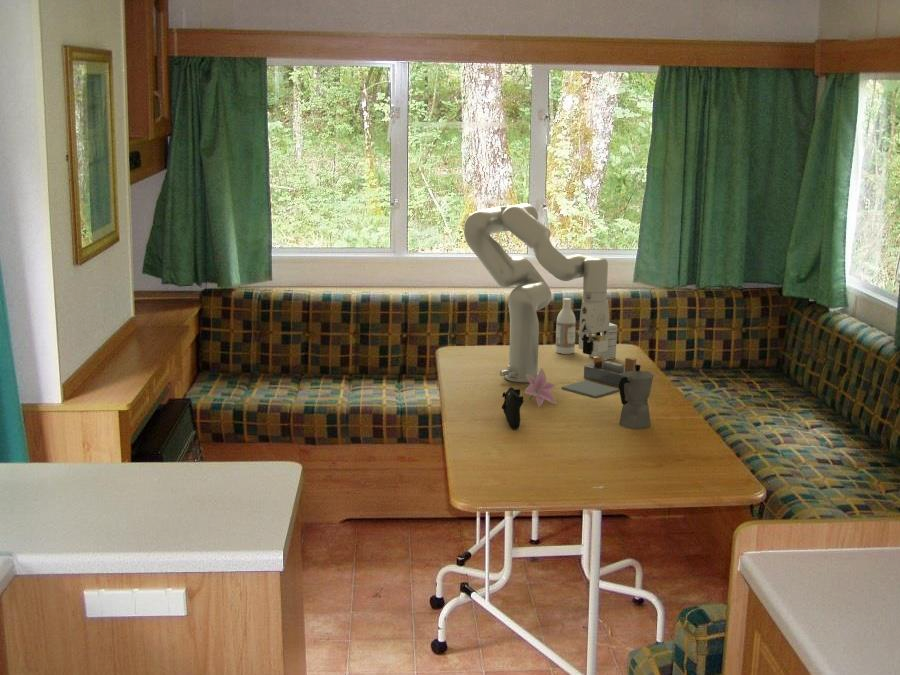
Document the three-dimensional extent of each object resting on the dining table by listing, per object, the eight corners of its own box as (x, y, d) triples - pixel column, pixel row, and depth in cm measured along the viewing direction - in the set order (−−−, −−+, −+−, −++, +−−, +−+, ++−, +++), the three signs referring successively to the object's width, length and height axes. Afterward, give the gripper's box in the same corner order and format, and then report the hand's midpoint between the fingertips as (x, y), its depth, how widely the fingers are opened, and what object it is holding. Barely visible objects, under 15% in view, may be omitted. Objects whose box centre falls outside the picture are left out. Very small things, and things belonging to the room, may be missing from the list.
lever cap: (598, 352, 354) (598, 338, 353) (578, 348, 360) (578, 334, 358) (607, 350, 357) (608, 336, 356) (588, 346, 363) (588, 332, 362)
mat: (595, 397, 353) (595, 396, 353) (561, 388, 362) (561, 386, 362) (619, 390, 361) (619, 389, 361) (585, 382, 371) (585, 380, 370)
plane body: (626, 388, 363) (628, 361, 361) (583, 377, 376) (584, 351, 374) (641, 384, 369) (643, 357, 367) (598, 373, 381) (600, 347, 379)
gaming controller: (498, 416, 333) (498, 383, 331) (518, 415, 333) (519, 383, 331) (503, 430, 319) (504, 397, 317) (524, 430, 320) (525, 396, 317)
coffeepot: (633, 416, 334) (636, 357, 330) (660, 423, 328) (664, 363, 324) (603, 427, 323) (606, 367, 319) (631, 434, 317) (634, 373, 313)
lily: (517, 410, 342) (530, 387, 337) (511, 386, 352) (524, 363, 347) (552, 419, 346) (565, 396, 341) (545, 395, 355) (558, 372, 350)
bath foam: (564, 355, 405) (566, 301, 401) (551, 351, 411) (553, 298, 406) (578, 353, 409) (580, 299, 404) (565, 349, 415) (567, 296, 410)
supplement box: (587, 356, 404) (589, 322, 402) (605, 354, 408) (606, 320, 405) (598, 361, 398) (600, 326, 395) (616, 359, 401) (618, 324, 398)
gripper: (586, 301, 346) (584, 359, 350) (620, 294, 358) (618, 350, 362) (568, 298, 351) (566, 354, 356) (602, 291, 363) (600, 346, 367)
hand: (592, 351), depth 359 cm, fingers closed on lever cap, 4 cm apart
